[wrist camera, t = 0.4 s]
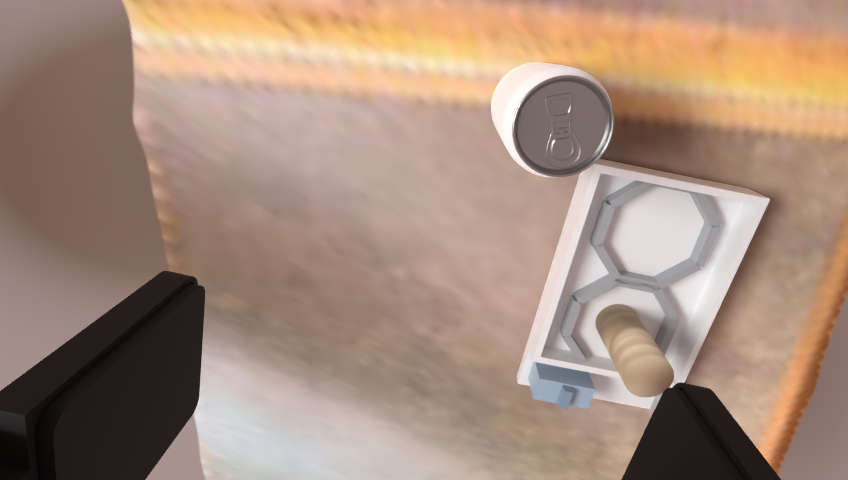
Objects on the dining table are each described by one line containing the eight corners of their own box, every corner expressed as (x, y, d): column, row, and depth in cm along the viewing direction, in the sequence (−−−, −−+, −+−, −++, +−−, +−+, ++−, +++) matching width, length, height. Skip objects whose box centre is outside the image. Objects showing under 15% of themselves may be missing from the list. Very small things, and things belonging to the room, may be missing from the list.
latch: (534, 358, 46) (540, 384, 42) (586, 368, 46) (598, 395, 42) (528, 377, 47) (534, 404, 43) (579, 387, 47) (590, 415, 43)
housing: (585, 155, 40) (595, 164, 37) (748, 188, 40) (770, 199, 37) (516, 377, 48) (520, 397, 45) (652, 403, 48) (664, 425, 45)
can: (496, 153, 40) (512, 193, 29) (484, 70, 38) (496, 79, 27) (577, 138, 39) (625, 174, 28) (569, 53, 37) (619, 55, 26)
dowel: (602, 300, 43) (633, 352, 36) (642, 308, 43) (681, 362, 36) (590, 335, 45) (617, 392, 37) (628, 342, 45) (663, 401, 37)
